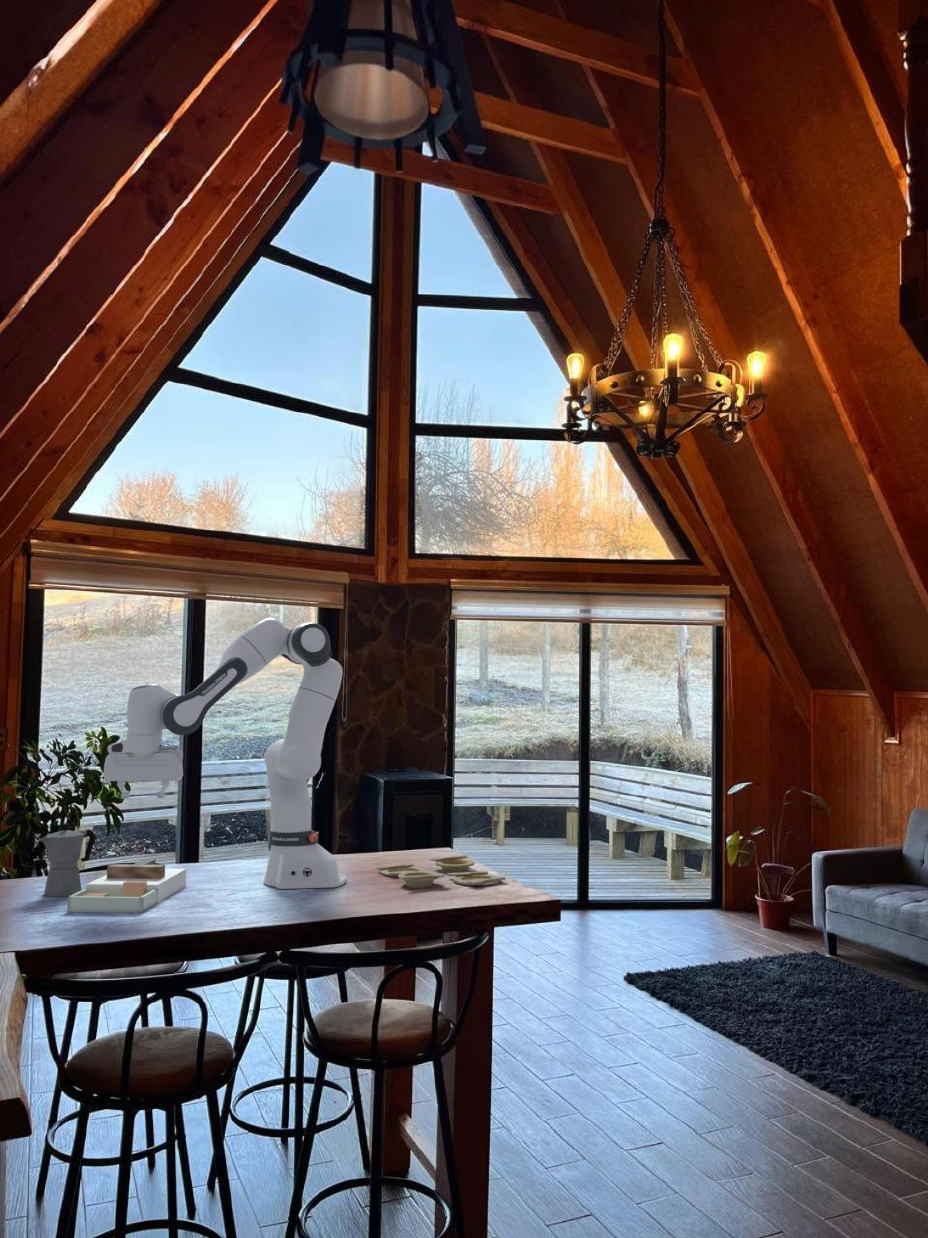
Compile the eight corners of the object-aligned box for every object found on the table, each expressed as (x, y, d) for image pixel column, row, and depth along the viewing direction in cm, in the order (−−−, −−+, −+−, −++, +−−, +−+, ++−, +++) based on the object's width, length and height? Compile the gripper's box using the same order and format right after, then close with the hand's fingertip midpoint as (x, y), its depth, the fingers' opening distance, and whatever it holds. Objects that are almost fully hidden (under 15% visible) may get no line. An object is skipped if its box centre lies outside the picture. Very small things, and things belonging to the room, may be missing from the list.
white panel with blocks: (185, 885, 250) (186, 869, 251) (157, 903, 230) (157, 885, 230) (120, 885, 251) (120, 868, 252) (85, 902, 230) (86, 884, 231)
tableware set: (511, 887, 252) (511, 872, 252) (409, 895, 241) (409, 880, 241) (464, 865, 284) (464, 851, 285) (372, 871, 274) (372, 857, 274)
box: (157, 903, 230) (157, 889, 230) (141, 913, 220) (142, 898, 220) (85, 902, 230) (86, 888, 231) (67, 912, 220) (67, 897, 221)
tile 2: (99, 897, 222) (99, 908, 222) (108, 893, 227) (108, 903, 227) (79, 897, 222) (79, 908, 222) (88, 893, 227) (88, 903, 227)
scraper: (175, 870, 248) (175, 859, 248) (160, 879, 237) (160, 867, 237) (124, 870, 249) (124, 859, 249) (106, 878, 238) (107, 866, 238)
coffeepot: (48, 900, 233) (51, 827, 234) (28, 895, 238) (31, 824, 240) (104, 890, 245) (106, 821, 247) (83, 885, 251) (86, 818, 252)
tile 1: (147, 881, 229) (143, 883, 227) (146, 901, 229) (142, 903, 226) (127, 880, 229) (123, 882, 227) (126, 901, 229) (122, 903, 227)
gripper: (187, 744, 248) (186, 796, 247) (111, 744, 248) (110, 797, 247) (178, 746, 241) (178, 799, 240) (101, 746, 242) (100, 799, 241)
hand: (143, 798), depth 244 cm, fingers open, 8 cm apart
